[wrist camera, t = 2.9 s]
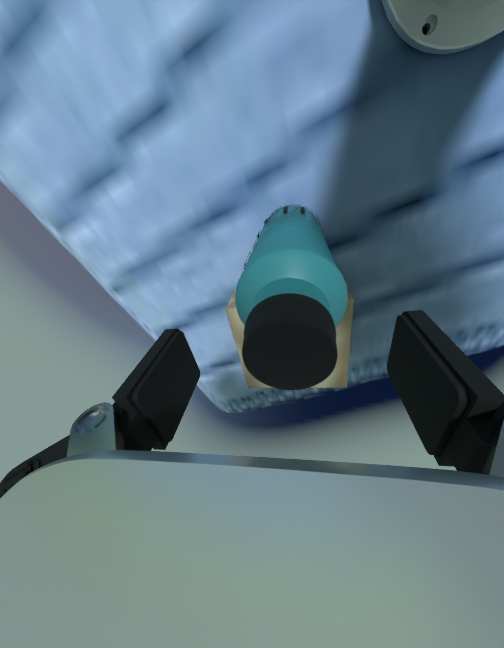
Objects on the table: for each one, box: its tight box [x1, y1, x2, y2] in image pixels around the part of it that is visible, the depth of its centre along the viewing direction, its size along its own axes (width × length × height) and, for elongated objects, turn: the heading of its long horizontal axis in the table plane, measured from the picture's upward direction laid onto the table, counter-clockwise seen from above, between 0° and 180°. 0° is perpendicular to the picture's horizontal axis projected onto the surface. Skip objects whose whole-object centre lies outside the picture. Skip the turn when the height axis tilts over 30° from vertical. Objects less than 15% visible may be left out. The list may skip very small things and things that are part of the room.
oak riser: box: [226, 279, 354, 388], centre depth 30 cm, size 14×14×5 cm
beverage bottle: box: [235, 204, 348, 390], centre depth 17 cm, size 6×7×20 cm
